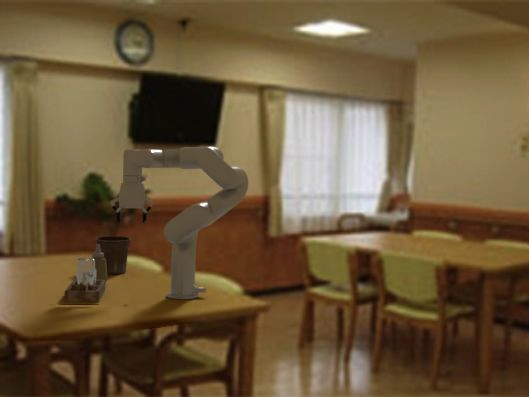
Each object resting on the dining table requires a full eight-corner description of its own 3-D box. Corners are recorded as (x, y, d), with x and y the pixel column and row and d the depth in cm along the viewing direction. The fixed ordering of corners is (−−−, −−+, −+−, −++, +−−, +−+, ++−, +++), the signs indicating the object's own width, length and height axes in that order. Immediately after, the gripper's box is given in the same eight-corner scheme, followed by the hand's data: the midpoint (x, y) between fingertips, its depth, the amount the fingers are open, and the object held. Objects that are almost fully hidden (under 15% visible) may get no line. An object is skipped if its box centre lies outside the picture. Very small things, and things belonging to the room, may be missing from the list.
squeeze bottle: (97, 284, 294) (97, 242, 293) (111, 287, 290) (112, 244, 289) (83, 287, 287) (83, 244, 286) (97, 290, 283) (98, 246, 282)
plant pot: (122, 276, 314) (123, 241, 313) (88, 274, 317) (89, 239, 316) (135, 270, 330) (135, 237, 329) (102, 268, 333) (103, 235, 332)
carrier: (105, 292, 280) (105, 279, 279) (98, 304, 257) (99, 291, 256) (73, 291, 278) (73, 279, 278) (64, 304, 255) (64, 291, 255)
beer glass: (72, 299, 260) (72, 259, 258) (81, 295, 266) (82, 257, 265) (89, 301, 258) (89, 261, 257) (97, 297, 265) (98, 258, 264)
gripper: (154, 180, 283) (153, 222, 284) (111, 179, 281) (110, 221, 282) (153, 181, 276) (153, 223, 277) (109, 179, 273) (108, 223, 275)
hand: (131, 222), depth 279 cm, fingers open, 9 cm apart
